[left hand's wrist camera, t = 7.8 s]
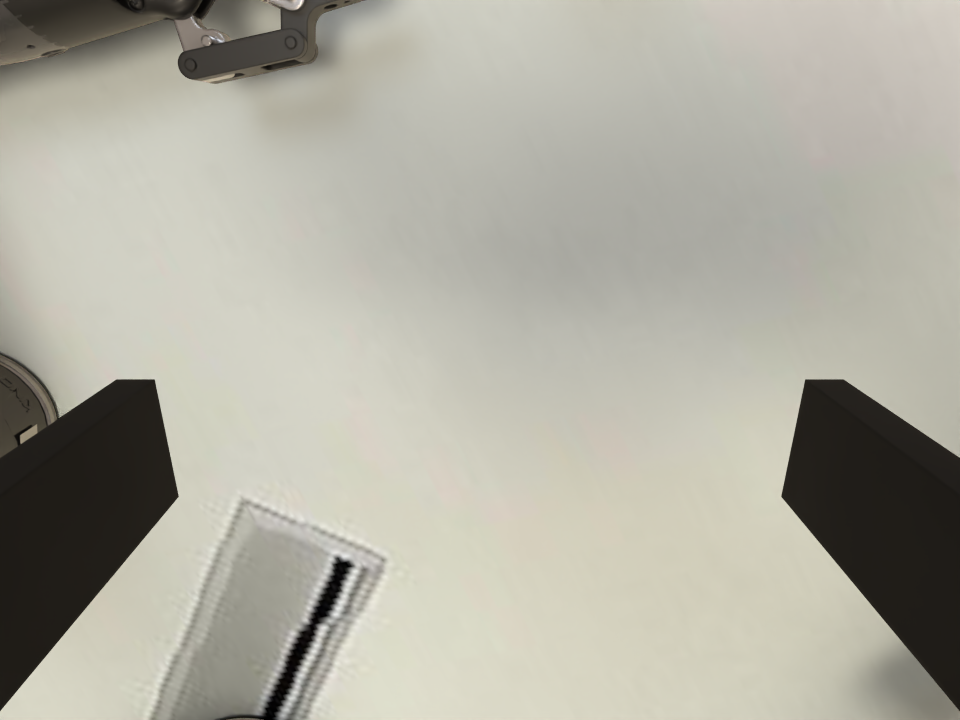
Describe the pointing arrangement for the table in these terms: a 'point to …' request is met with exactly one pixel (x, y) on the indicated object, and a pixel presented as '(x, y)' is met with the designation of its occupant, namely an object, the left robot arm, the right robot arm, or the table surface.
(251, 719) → the bust sculpture
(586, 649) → the table surface
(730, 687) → the table surface
